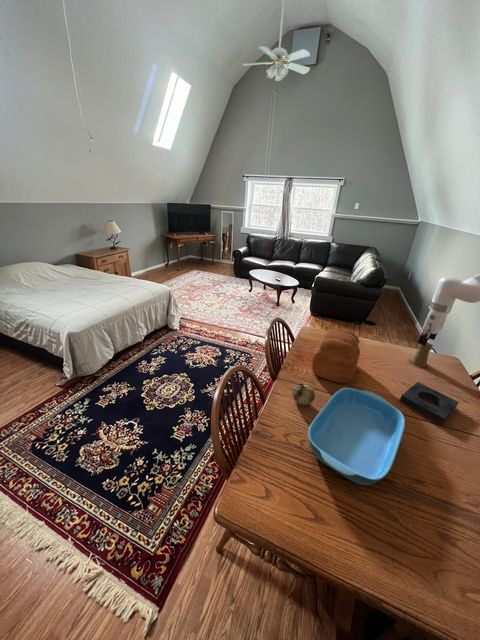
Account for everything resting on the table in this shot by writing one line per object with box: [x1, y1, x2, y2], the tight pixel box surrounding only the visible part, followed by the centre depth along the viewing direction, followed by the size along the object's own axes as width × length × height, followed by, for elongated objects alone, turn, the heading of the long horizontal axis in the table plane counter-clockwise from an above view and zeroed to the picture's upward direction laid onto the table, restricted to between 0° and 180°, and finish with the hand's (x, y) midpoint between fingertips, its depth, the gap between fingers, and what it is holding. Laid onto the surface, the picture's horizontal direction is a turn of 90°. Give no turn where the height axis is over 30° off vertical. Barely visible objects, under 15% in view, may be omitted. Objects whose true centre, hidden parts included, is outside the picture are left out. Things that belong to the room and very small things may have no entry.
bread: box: [311, 328, 361, 384], centre depth 115 cm, size 18×22×17 cm
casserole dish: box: [307, 387, 406, 486], centre depth 82 cm, size 37×22×7 cm, turn 140°
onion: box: [291, 382, 316, 406], centre depth 97 cm, size 8×8×8 cm
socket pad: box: [399, 381, 460, 426], centre depth 99 cm, size 14×14×3 cm
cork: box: [410, 341, 433, 368], centre depth 123 cm, size 6×6×11 cm
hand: (426, 341), depth 121 cm, fingers open, 9 cm apart
